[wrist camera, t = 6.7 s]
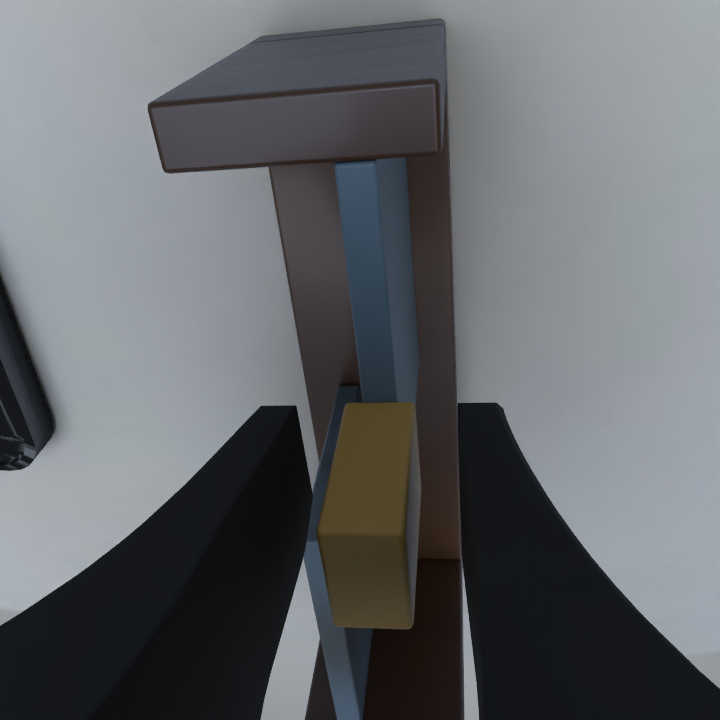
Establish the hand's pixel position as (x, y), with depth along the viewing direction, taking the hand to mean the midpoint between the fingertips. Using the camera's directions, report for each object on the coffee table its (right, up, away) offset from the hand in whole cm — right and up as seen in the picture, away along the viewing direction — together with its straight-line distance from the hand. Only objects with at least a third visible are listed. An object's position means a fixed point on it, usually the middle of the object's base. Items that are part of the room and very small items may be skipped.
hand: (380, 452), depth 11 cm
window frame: (0, +2, +7) cm, 7 cm away
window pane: (+1, +4, +4) cm, 6 cm away
